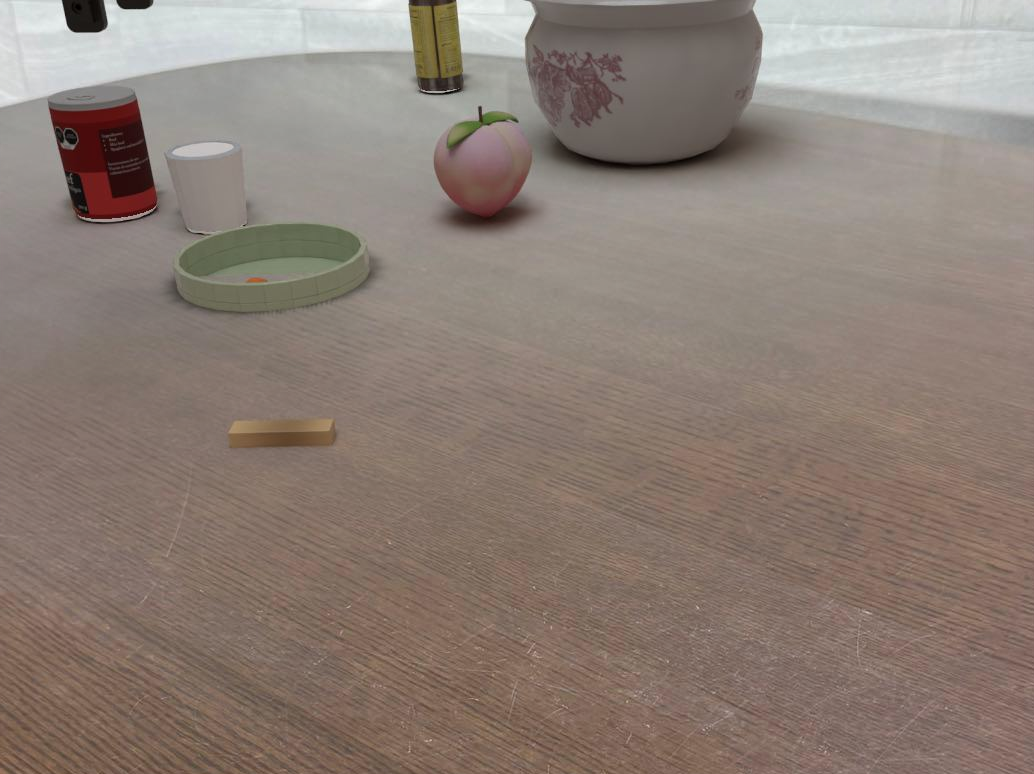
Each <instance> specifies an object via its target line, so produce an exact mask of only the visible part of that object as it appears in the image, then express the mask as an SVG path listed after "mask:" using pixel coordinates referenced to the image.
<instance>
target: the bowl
mask: <svg viewBox="0 0 1034 774" xmlns="http://www.w3.org/2000/svg"><path fill="white" fill-rule="evenodd" d="M370 266H371V265H370V257H369V249H368V243H367V241H366V239H365V236H364V235H362V234H361V233H359V232H358V231H356V230H354V229H351V228H349V227H346V226H343V225H338V224H331V223H326V222H317V221H316V222H315V221H278V222H277V221H275V222H274V221H273V222H266V223H265V222H264V223H257V224H250V225H245V226H243V227H239V228H233V229H229V230H225V231H222V232H218V233H215V234H207V235H206V236H204V237H201V238H199V239H196V240H194V241H192V242H190V243H189V244H187V245H185V246H184V247H182V248H180V250H179V251H177V253H176V254H175V255H174V257H173V258H172V268H173V269H172V270H173V274H174V279H175V283H176V288H177V293H178V294H179V295H180V296H181V297H182V298H183V299H184V300H185V301H187V302H189V303H190V304H193V305H195V306H198V307H201V308H206V309H207V308H208V309H210V310H214V311H225V312H238V313H251V312H273V311H279V310H280V311H281V310H289V309H296V308H301V307H305V306H310V305H314V304H320V303H322V302H325V301H328V300H331V299H335V298H338V297H340V296H342V295H344V294H346V293H348V292H350V291H352V290H353V289H355V288H358V287H359V286H360V285H361V284H362V283H363V282H364V281H366V280H367V278H368V276H369V274H370V272H371V267H370ZM295 274H296V275H297V274H308V275H303V276H299V277H298V276H297V277H294V278H289V279H288V278H287V279H282V280H281V279H280V280H272V281H268V282H258V283H245V282H231V281H218V280H217V281H216V280H211V279H207V278H203V277H221V276H223V277H225V276H259V275H260V276H261V275H295Z"/></svg>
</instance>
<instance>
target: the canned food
mask: <svg viewBox="0 0 1034 774" xmlns="http://www.w3.org/2000/svg"><path fill="white" fill-rule="evenodd" d="M47 107H48V112H49V115H50V120H51V121H50V122H51V124H52V128H53V129H52V130H53V132H54V136H55V141H56V144H57V149H58V153H59V156H60V160H61V164H62V169H63V173H64V177H65V182H66V184H67V189H68V192H69V197H70V201H71V205H72V209H73V211H74V213H75V215H76V216H77V215H79V216H81V217H85V218H91V219H112V218H121V217H128V216H133V215H137V214H140V213H144V212H146V211H149V210H151V209H153V208H154V207H155V206H156V205H157V206H158V193H157V189H156V185H155V180H154V175H153V170H152V164H151V159H150V155H149V150H148V149H149V148H148V144H147V140H146V139H147V138H146V135H145V129H144V124H143V120H142V115H141V108H140V107H139V102H138V97H137V95H136V91H135V89H133V88H131V87H128V86H122V85H96V86H94V85H93V86H85V87H77V88H70V89H66V90H61V91H59V92H56V93H53V94H51V95H50V96H48V98H47Z"/></svg>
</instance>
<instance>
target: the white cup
mask: <svg viewBox="0 0 1034 774" xmlns="http://www.w3.org/2000/svg"><path fill="white" fill-rule="evenodd" d="M243 155H244V154H243V147H242V145H241V144H240V143H238V142H235V141H232V140H231V141H230V140H218V139H217V140H201V141H195V142H194V141H193V142H188V143H184V144H180V145H175V146H173V147H170V148H169V149H167V150H166V151H165V152H164V156H165V160H166V163H167V168H168V171H169V174H170V178H171V181H172V185H173V189H174V192H175V196H176V198H177V202H178V205H179V208H180V212H181V215H182V219H183V222H184V226H185V225H186V226H185V228H186V227H187V228H189V229H191V230H194V231H205V232H210V231H211V232H216V231H225V230H229V229H233V228H237V227H240V226H241V225H242V224H245V222H246V221H247V222H248V211H247V196H246V185H245V170H244V169H245V168H244V156H243Z"/></svg>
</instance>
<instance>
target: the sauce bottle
mask: <svg viewBox="0 0 1034 774" xmlns="http://www.w3.org/2000/svg"><path fill="white" fill-rule="evenodd" d="M407 6H408V14H409V22H410V23H409V24H410V32H411V39H412V49H413V57H414V66H415V67H414V68H415V75H416V78H417V88H418V87H419V88H420V89H422V90H425V91H447V90H453V89H458V88H460V89H461V88H463V87H464V77H463V72H464V65H463V64H464V63H463V56H462V46H461V45H462V44H461V35H460V23H459V14H458V13H459V12H458V3H457V0H408V5H407ZM419 88H418V89H419Z"/></svg>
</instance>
